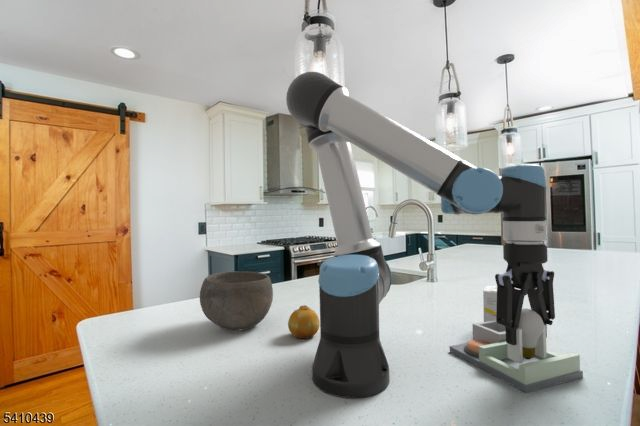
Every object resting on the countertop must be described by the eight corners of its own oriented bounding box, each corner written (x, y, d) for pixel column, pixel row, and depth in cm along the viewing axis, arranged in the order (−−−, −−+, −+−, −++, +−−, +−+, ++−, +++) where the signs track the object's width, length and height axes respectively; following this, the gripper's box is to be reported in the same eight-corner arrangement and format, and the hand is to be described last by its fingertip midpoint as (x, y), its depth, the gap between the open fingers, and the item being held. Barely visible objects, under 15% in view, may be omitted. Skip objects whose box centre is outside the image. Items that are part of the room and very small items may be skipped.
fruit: (308, 318, 94) (299, 298, 91) (329, 327, 88) (319, 306, 85) (289, 339, 89) (278, 318, 86) (309, 350, 83) (298, 328, 80)
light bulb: (517, 364, 63) (515, 312, 63) (506, 351, 69) (504, 304, 69) (551, 366, 62) (549, 313, 62) (537, 353, 67) (535, 305, 68)
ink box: (521, 341, 81) (520, 293, 81) (483, 334, 85) (482, 290, 85) (521, 330, 88) (520, 287, 88) (486, 325, 93) (485, 284, 93)
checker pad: (480, 356, 69) (480, 350, 69) (462, 347, 74) (462, 341, 74) (499, 352, 70) (498, 346, 70) (479, 343, 75) (479, 338, 75)
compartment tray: (526, 392, 57) (525, 361, 57) (449, 351, 75) (449, 327, 75) (582, 377, 62) (582, 348, 62) (498, 341, 80) (498, 319, 80)
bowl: (287, 324, 96) (286, 273, 96) (224, 345, 81) (223, 285, 81) (247, 311, 110) (246, 267, 111) (187, 327, 95) (186, 276, 95)
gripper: (505, 245, 59) (508, 374, 58) (576, 241, 65) (578, 357, 65) (473, 242, 66) (475, 357, 66) (539, 239, 72) (542, 343, 72)
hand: (527, 357), depth 65 cm, fingers closed on light bulb, 6 cm apart
